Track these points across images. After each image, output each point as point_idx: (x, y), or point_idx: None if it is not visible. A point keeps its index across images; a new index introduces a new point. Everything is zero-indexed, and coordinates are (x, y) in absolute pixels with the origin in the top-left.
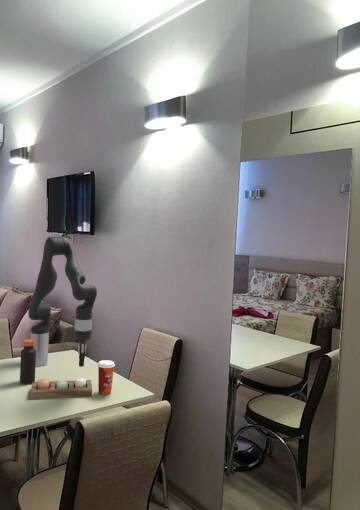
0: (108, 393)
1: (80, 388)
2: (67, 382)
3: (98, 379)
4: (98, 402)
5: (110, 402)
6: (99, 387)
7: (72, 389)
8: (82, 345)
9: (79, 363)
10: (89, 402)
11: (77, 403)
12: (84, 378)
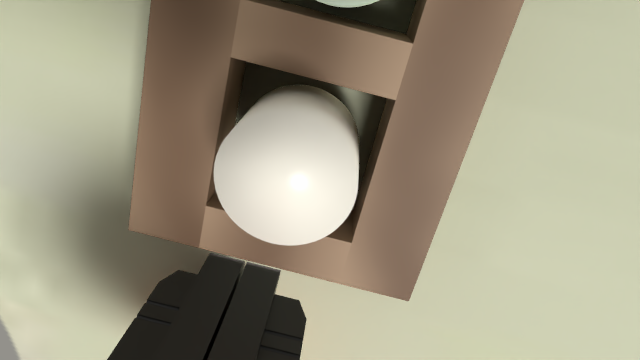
0: None
1: (193, 128)
2: (340, 3)
3: None
4: (18, 209)
5: (7, 289)
6: None
7: (183, 30)
8: None
9: (192, 294)
10: (27, 140)
11: (17, 27)
12: (317, 237)
